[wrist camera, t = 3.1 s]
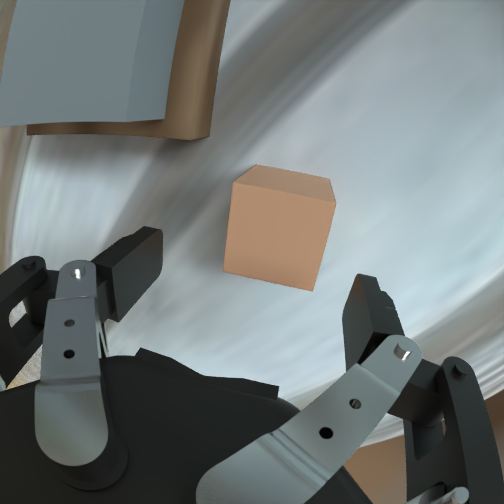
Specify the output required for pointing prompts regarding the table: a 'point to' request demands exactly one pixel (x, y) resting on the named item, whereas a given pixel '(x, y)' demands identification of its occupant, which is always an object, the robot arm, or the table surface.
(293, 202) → the terracotta block
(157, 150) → the table surface
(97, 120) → the slate top slab
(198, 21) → the walnut slab
